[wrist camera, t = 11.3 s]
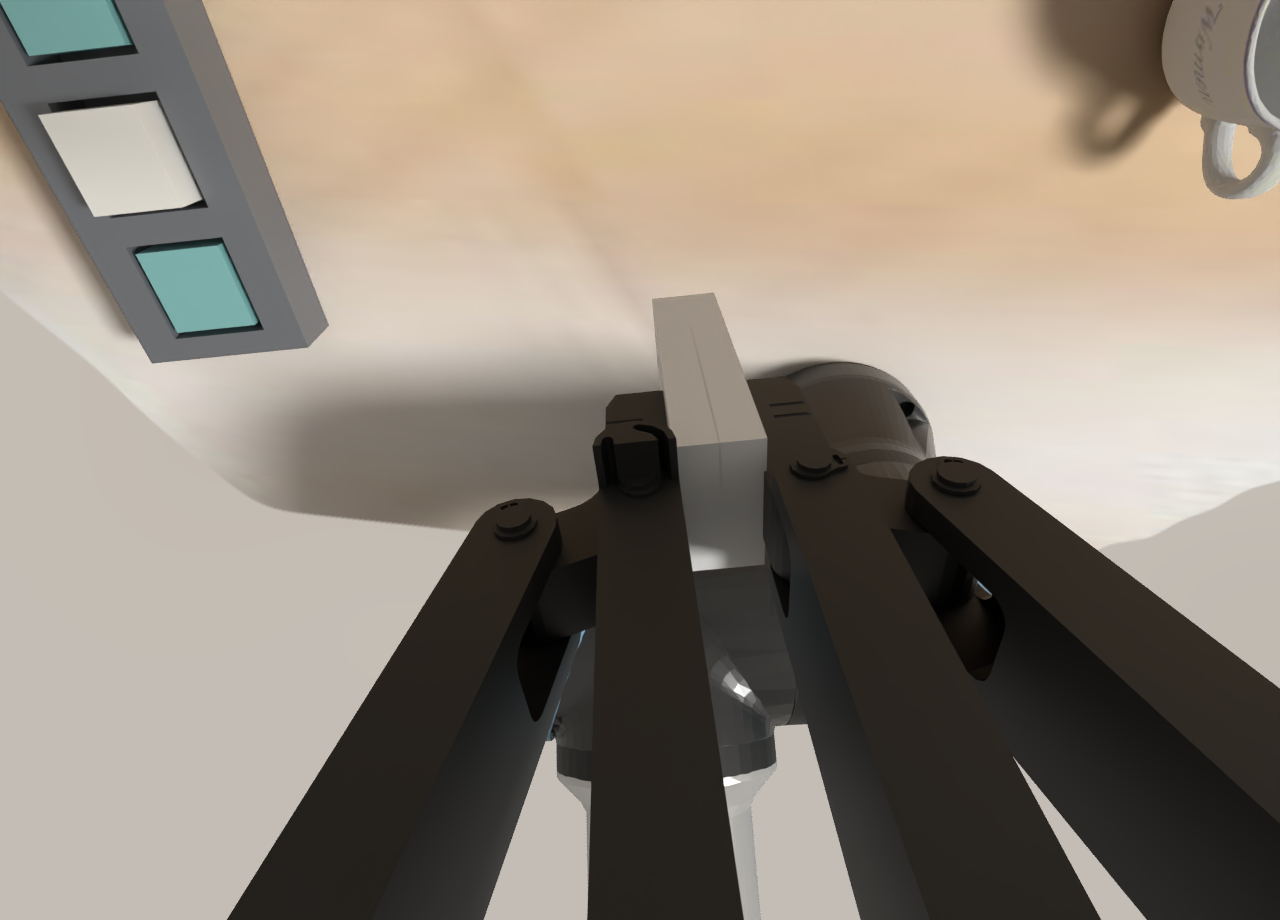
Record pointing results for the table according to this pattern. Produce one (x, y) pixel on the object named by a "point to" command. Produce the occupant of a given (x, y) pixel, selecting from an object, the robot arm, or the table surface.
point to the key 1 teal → (198, 285)
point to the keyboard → (217, 154)
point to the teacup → (1228, 83)
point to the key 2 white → (123, 157)
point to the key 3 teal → (67, 25)
